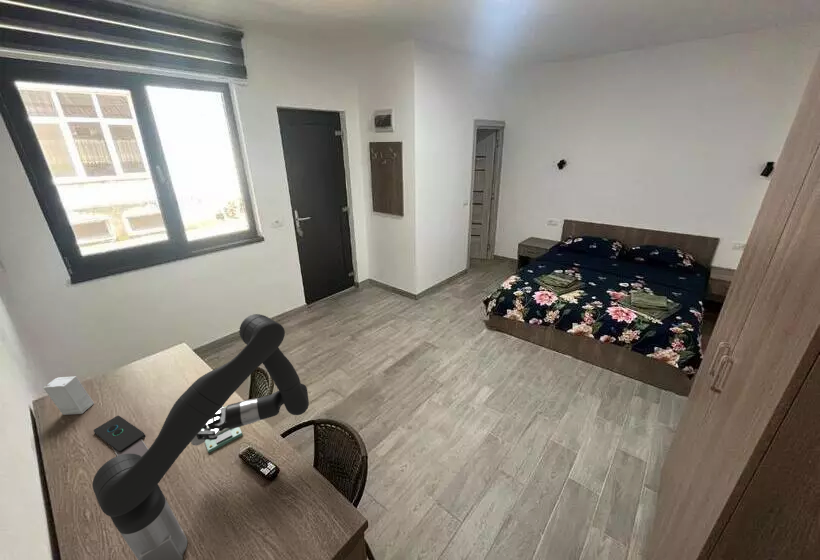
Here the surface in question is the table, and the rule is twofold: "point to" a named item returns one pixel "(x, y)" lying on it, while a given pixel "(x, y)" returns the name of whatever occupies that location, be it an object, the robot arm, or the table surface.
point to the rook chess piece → (197, 441)
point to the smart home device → (119, 433)
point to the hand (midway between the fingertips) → (183, 429)
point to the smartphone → (134, 449)
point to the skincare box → (69, 395)
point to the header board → (223, 438)
